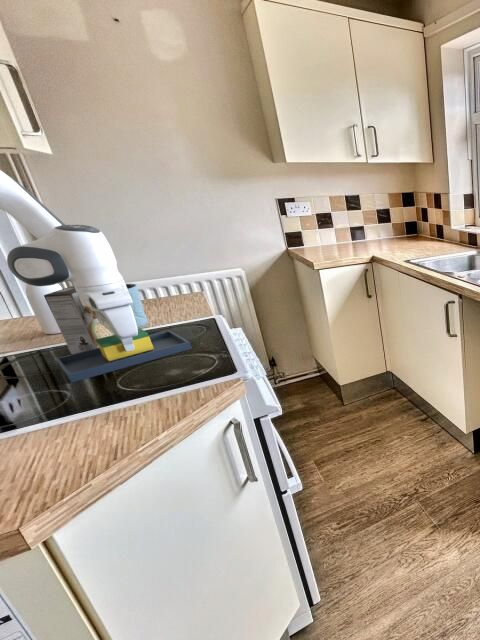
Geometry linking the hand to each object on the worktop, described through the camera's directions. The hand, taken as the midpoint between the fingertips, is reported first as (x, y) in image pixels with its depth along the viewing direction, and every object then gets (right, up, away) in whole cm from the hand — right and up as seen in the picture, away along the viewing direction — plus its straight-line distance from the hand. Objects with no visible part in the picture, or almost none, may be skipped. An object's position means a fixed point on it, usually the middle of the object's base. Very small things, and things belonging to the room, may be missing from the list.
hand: (125, 346), depth 107 cm
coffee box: (-14, 0, +7) cm, 16 cm away
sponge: (0, -1, +1) cm, 2 cm away
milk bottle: (-37, +5, +20) cm, 43 cm away
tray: (0, -3, 0) cm, 3 cm away
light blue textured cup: (-19, +6, +22) cm, 30 cm away
